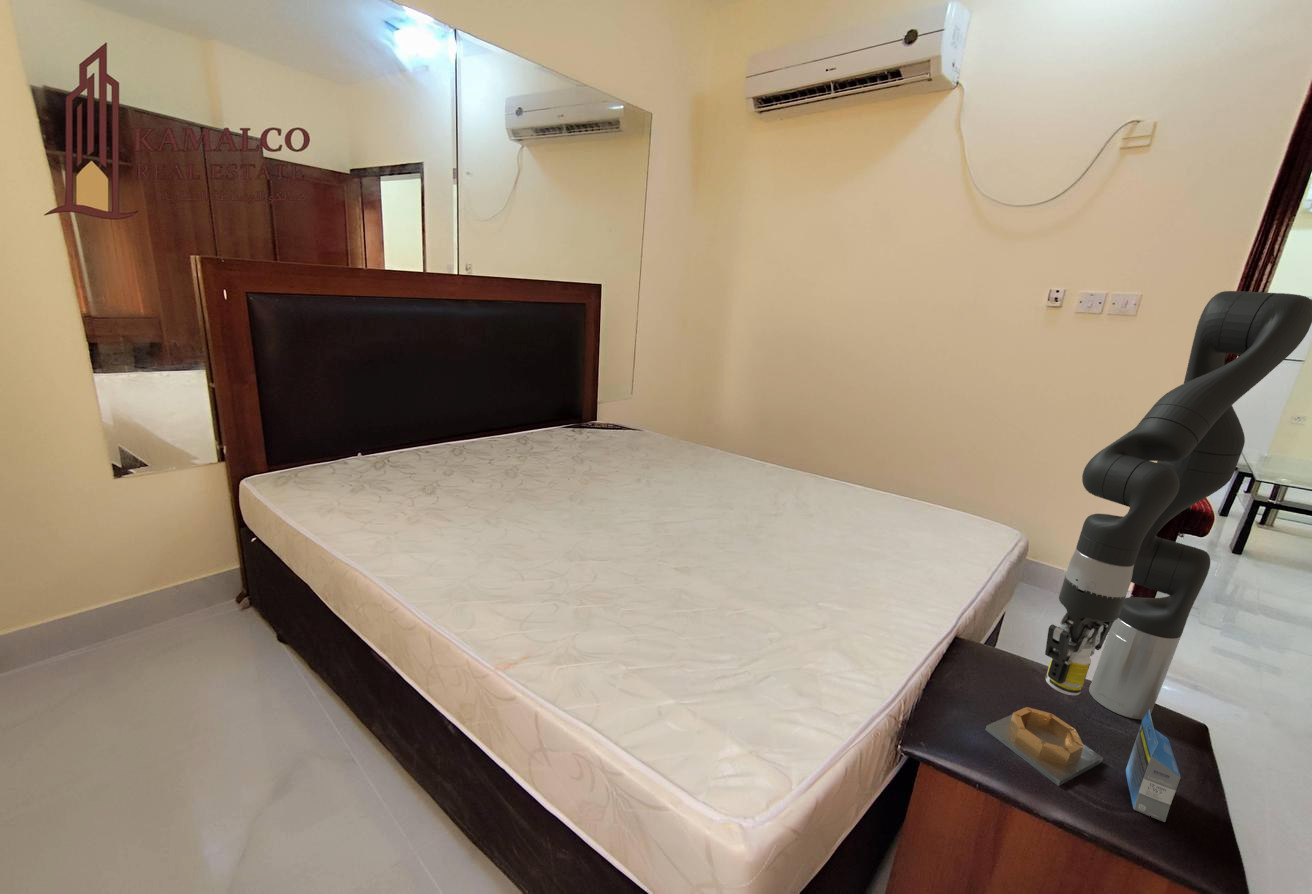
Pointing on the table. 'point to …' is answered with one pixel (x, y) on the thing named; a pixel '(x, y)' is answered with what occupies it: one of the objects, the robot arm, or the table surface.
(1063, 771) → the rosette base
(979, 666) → the table surface
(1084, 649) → the supplement bottle
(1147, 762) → the label tape box
